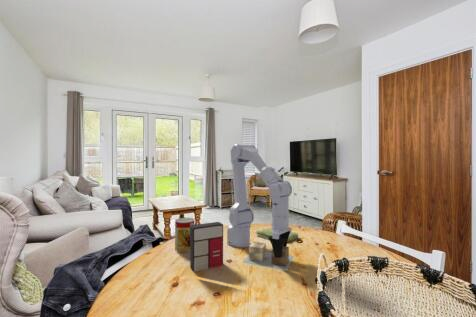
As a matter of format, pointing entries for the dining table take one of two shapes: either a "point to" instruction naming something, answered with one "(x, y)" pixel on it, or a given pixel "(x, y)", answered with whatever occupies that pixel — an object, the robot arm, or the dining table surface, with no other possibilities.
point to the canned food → (183, 234)
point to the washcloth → (267, 232)
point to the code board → (269, 262)
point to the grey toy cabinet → (206, 246)
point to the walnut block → (283, 259)
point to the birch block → (257, 251)
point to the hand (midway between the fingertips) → (280, 253)
